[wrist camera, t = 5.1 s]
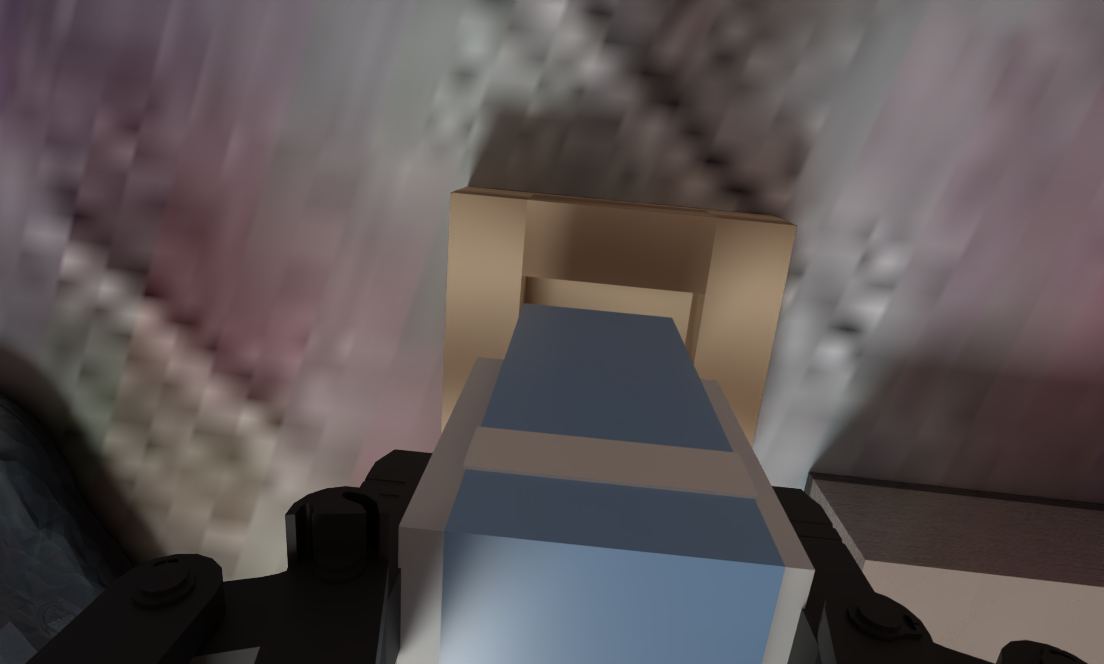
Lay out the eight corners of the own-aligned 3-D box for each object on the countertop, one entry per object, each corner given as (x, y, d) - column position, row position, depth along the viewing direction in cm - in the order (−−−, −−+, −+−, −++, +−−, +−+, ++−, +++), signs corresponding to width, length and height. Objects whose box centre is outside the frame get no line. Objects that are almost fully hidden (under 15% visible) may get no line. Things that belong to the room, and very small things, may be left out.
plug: (521, 301, 17) (440, 527, 7) (674, 315, 17) (790, 563, 7) (511, 437, 18) (430, 778, 9) (653, 451, 18) (728, 812, 9)
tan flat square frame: (467, 186, 21) (450, 192, 18) (773, 215, 20) (797, 225, 18) (454, 457, 24) (438, 493, 21) (721, 487, 23) (736, 526, 21)
